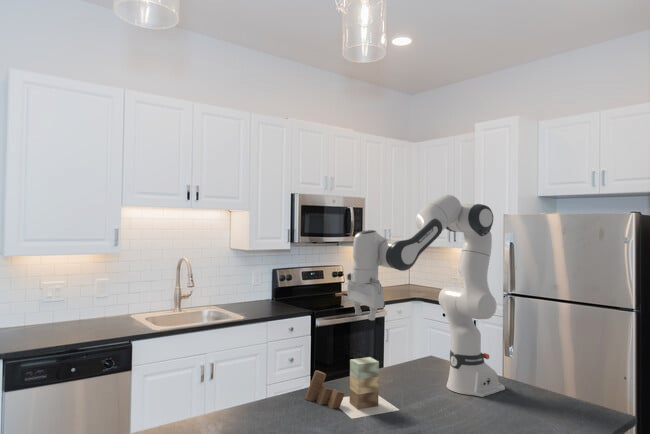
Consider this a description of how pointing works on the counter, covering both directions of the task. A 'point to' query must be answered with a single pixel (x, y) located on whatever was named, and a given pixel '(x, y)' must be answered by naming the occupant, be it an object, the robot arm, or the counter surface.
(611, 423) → the counter surface
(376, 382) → the oak brick
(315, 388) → the wooden block set
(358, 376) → the sage brick
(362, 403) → the walnut base brick
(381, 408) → the baseplate
